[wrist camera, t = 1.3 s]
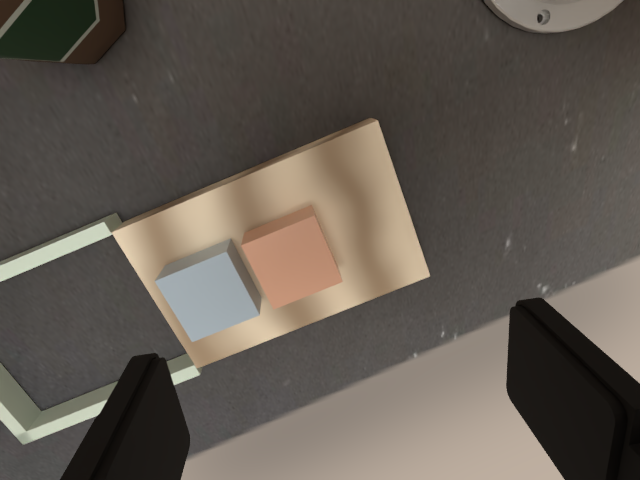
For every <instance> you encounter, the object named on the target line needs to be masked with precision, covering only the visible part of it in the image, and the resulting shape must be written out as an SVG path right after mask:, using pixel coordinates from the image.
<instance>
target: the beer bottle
mask: <svg viewBox="0 0 640 480" xmlns="http://www.w3.org/2000/svg"><path fill="white" fill-rule="evenodd" d="M124 31H125V21H124V10H123V0H0V58H6V59H15V60H25V61H38V62H56V63H73V64H95V63H96V62H97V61H98V60H99V59H100V58H101V56H102V55H103V54H104V53H105V52H106V51H107V50H108V49H109V47H110V46H111V45H112V44H113V43H114V42H115V41H116V40H117V39H118V37H119V36H120V35H121V34H122V33H123V32H124Z"/></svg>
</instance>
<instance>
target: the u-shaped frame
mask: <svg viewBox="0 0 640 480" xmlns="http://www.w3.org/2000/svg"><path fill="white" fill-rule="evenodd" d="M121 224H122V221H121V219H120V218H119V216H118V215H117V213H114V214H112V215H109V216H107V217H104V218H102V219H100V220H97V221H95V222H93V223H90V224H88V225H86V226H83V227H81V228H79V229H76V230H74V231H71V232H69V233H67V234H64V235H62V236H60V237H57V238H55V239H53V240H50V241H48V242H46V243H43V244H41V245H38V246H36V247H34V248H31V249H29V250H27V251H24V252H22V253H20V254H17V255H15V256H12V257H10V258H8V259H5V260H3V261H1V262H0V282H1V281H3V280H6V279H8V278H11V277H13V276H15V275H18V274H20V273H22V272H25V271H27V270H30V269H32V268H34V267H37V266H39V265H41V264H44V263H46V262H49V261H51V260H53V259H56V258H58V257H60V256H63V255H65V254H68V253H70V252H72V251H75V250H77V249H79V248H82V247H84V246H87V245H89V244H91V243H94V242H96V241H98V240H101V239H103V238H106V237H108V236H110V235H112V233H111V232H113V231H114V230H115V229H116V228H117V227H119V226H120V225H121ZM167 365H168V368H169V371H170V374H171V377H172V381H173V384H174V385H176V384H178V383H181V382H183V381H186V380H188V379H191V378H193V377H196V376H198V375H200V374H201V371H202V367H203V366H202V367H200V368H196V366H195V365H194V363H193V361H192V360H191V358H190V357H189V355H188V353H187V354H184V355H182V356H179V357H177V358H174V359H172V360H169V361H167ZM117 382H118V381H116V382H114V383H111V384H109V385H106V386H104V387H101V388H99V389H96V390H94V391H91V392H89V393H86V394H84V395H81V396H79V397H76V398H74V399H71V400H69V401H66V402H64V403H61V404H59V405H56V406H54V407H51V408H49V409H46V410H44V411H41V410H40V409H39V408H38V407H37V406H36V404H35V403H34V402H33V401H32V400H31V398H30V397H29V396H28V395H27V394H26V392H25V391H24V390H23V389H22V388H21V386H20V385H19V384H18V383H17V382H16V381H15V379H14V378H13V377H12V376H11V375H10V373H9V372H8V371H7V370H6V369H5V367H4V366H3V365H2V364H1V363H0V420H1V421H2V422H3V423H4V424H5V425H6V426H7V428H8V429H9V430H10V431H11V432H12V433H13V434H14V435H15V436H16V438H17V439H18V440H19V441H20V442H21V443H22V444H23V445H24V444H26V443H29V442H31V441H34V440H36V439H39V438H41V437H44V436H47V435H49V434H52V433H54V432H57V431H59V430H62V429H64V428H67V427H69V426H72V425H74V424H77V423H79V422H82V421H85V420H87V419H90V418H92V417H95V416H97V415H99V414H100V412H101V410H102V409H103V407H104V405H105V403H106V402H107V400H108V398H109V396H110V395H111V393H112V391H113V389H114V388H115V386H116V384H117Z"/></svg>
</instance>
